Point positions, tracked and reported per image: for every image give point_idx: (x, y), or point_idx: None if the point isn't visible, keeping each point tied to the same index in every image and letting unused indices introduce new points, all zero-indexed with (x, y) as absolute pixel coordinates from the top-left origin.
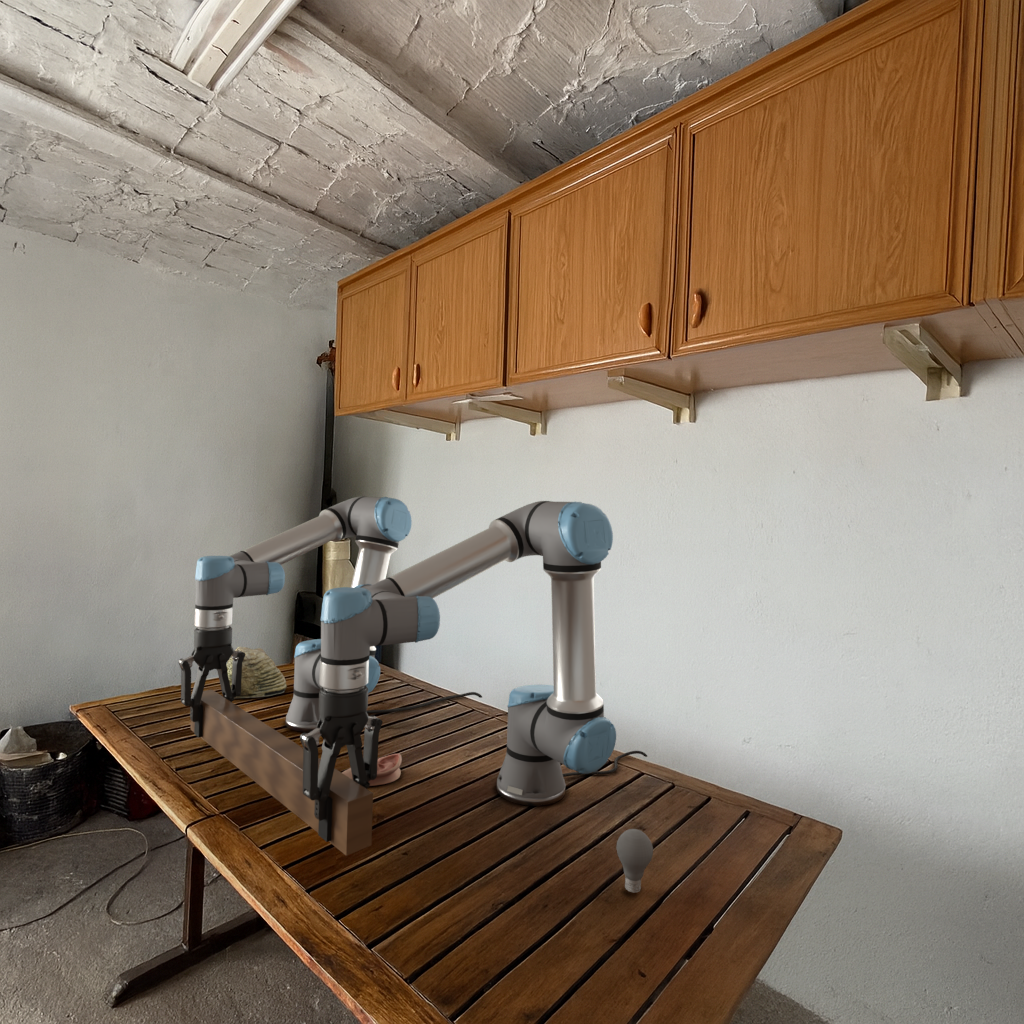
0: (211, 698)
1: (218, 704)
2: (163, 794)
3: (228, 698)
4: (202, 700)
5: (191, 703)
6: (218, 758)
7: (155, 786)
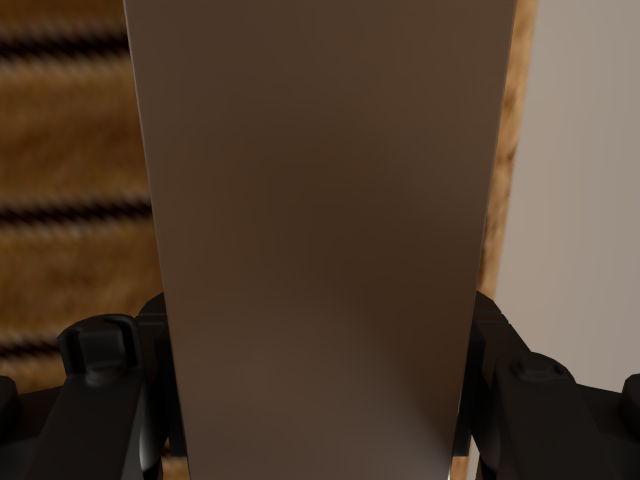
0: (330, 433)
1: (359, 126)
2: (497, 167)
3: (127, 372)
4: (452, 424)
5: (591, 411)
6: None
7: (487, 251)
